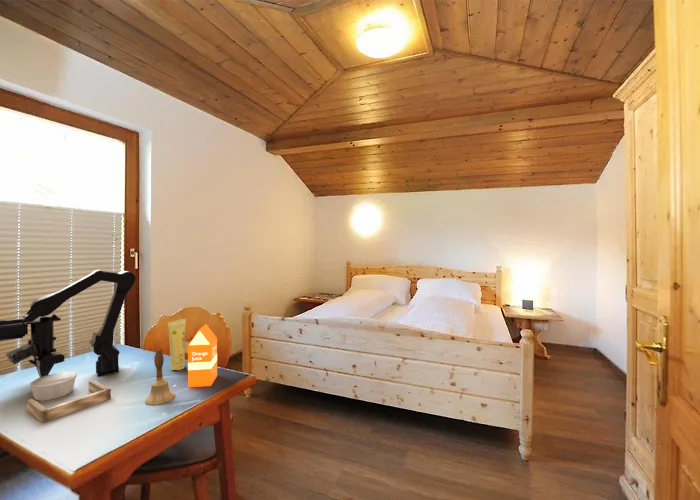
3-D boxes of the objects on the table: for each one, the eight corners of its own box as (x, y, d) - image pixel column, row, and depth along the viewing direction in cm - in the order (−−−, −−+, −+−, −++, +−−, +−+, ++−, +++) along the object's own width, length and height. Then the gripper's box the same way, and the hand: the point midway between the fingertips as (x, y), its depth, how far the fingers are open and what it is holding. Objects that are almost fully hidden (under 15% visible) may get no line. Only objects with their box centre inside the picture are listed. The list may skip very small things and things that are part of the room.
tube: (182, 371, 124) (181, 321, 124) (167, 372, 123) (167, 322, 122) (186, 365, 130) (185, 318, 129) (172, 366, 128) (172, 318, 128)
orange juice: (217, 375, 120) (217, 322, 120) (211, 385, 112) (210, 329, 111) (195, 376, 119) (195, 323, 119) (187, 387, 110) (187, 330, 110)
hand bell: (143, 407, 97) (142, 355, 96) (146, 396, 104) (145, 347, 104) (174, 401, 100) (174, 351, 100) (175, 390, 108) (174, 344, 107)
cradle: (93, 388, 109) (93, 380, 109) (110, 398, 102) (110, 388, 102) (26, 410, 95) (26, 400, 95) (42, 422, 88) (42, 412, 88)
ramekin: (47, 404, 98) (47, 387, 98) (20, 400, 101) (20, 384, 101) (85, 388, 109) (85, 373, 109) (60, 385, 112) (59, 370, 112)
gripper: (0, 336, 107) (1, 382, 108) (18, 346, 98) (19, 396, 98) (44, 329, 117) (45, 371, 117) (64, 337, 107) (65, 382, 108)
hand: (43, 379), depth 110 cm, fingers closed
